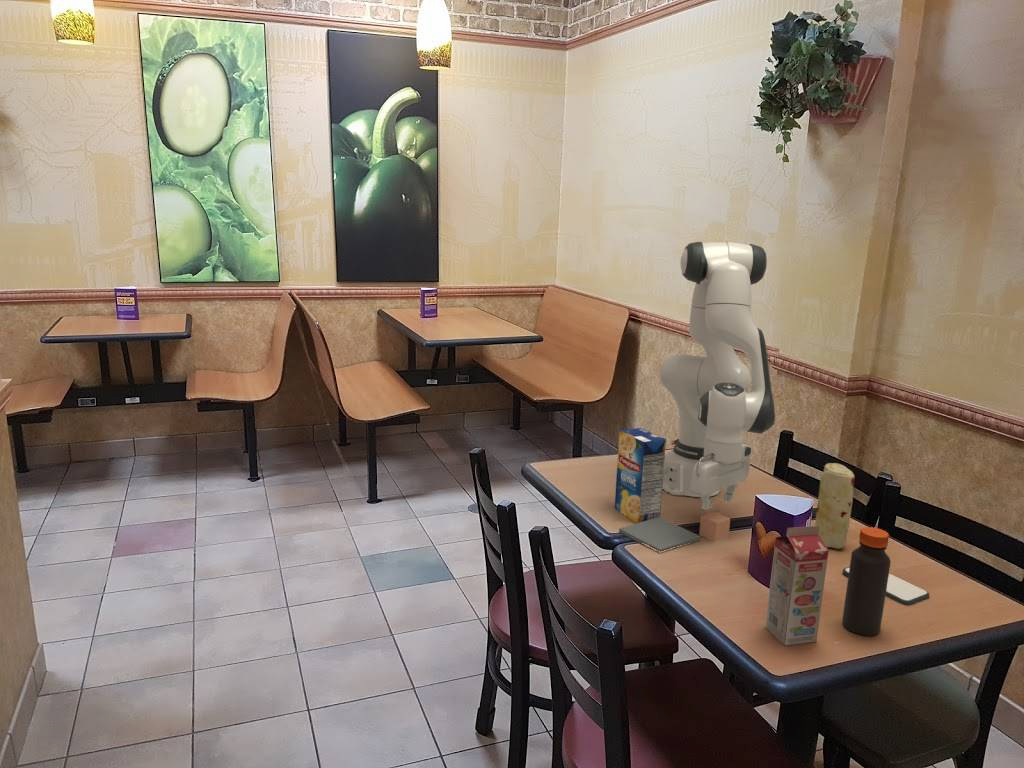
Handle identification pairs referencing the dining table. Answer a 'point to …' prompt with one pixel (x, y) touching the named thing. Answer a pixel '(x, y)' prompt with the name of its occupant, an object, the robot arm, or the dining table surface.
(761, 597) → the dining table surface
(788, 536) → the juice carton
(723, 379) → the robot arm
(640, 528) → the coaster
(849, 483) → the food model
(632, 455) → the blue tall cardboard box
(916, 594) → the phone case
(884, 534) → the bottle
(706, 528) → the cube
